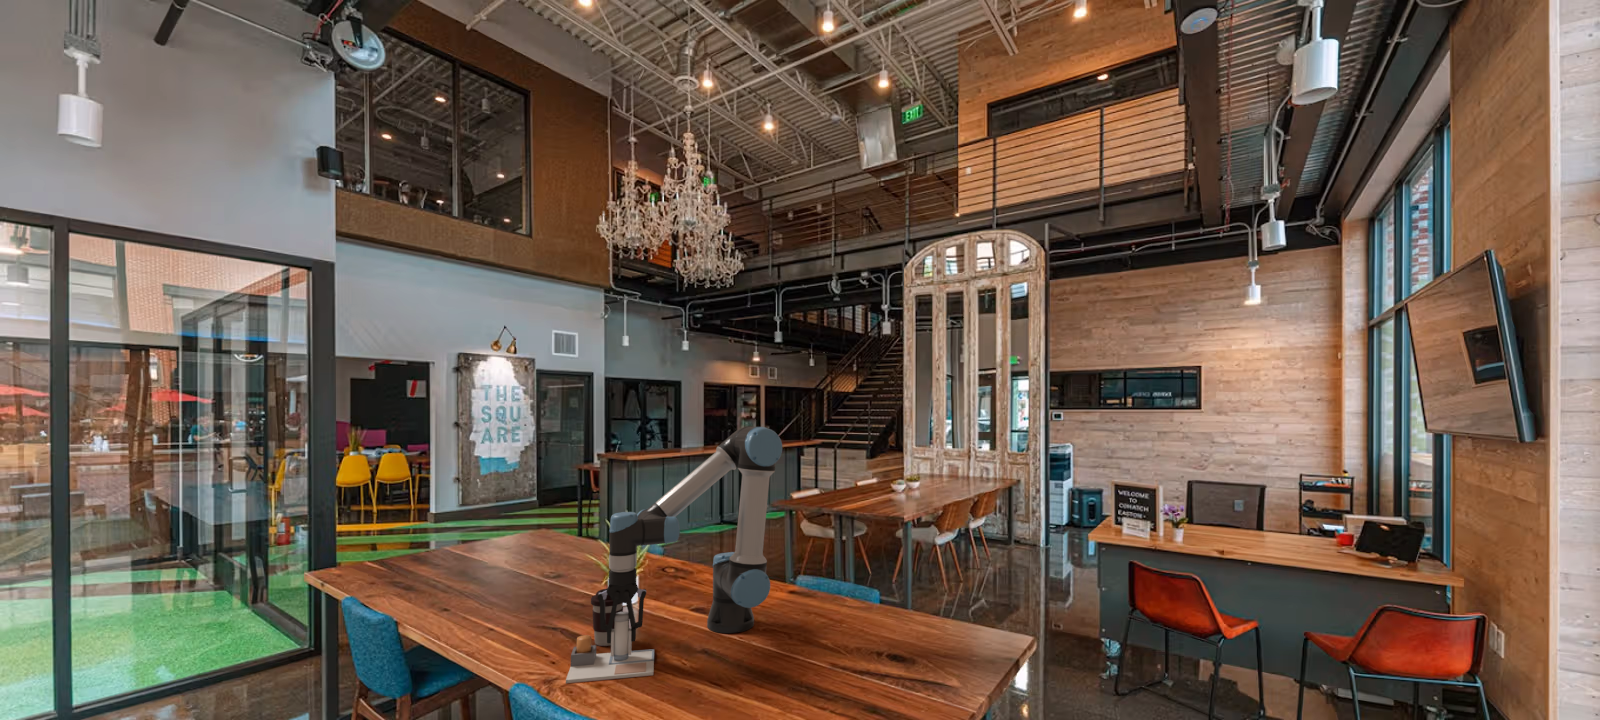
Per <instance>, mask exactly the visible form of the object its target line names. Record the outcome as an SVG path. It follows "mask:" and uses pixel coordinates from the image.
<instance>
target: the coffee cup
mask: <svg viewBox="0 0 1600 720" xmlns="http://www.w3.org/2000/svg"><path fill="white" fill-rule="evenodd" d="M606 590H607V588H603V589H600V590H598V591H596V594H595V595H593V596H591V598H590V604H591V606H592V626H593V627H592V628H593V631H594V632H593V636H594V645H596V646H600V647H607V646H608V647H609V646H611V643H607V631H605V630H601V629H600V602H599V600H598V597H597V596H598V593H599V592H604V591H606ZM606 596H607V597H606V599H605V619H606V624H607V625H608V623H609V619H610V614H611V610H612V605H613V600H612V599H611V598H610V596H609V595H608V594H607V595H606ZM623 605H624V603H619V604H617V608H616V612H615V613H618V612H624V607H623ZM612 629H614V621H613V626H612Z"/></svg>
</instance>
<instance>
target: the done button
mask: <svg viewBox="0 0 1600 720" xmlns="http://www.w3.org/2000/svg"><path fill="white" fill-rule="evenodd" d="M591 645H592V636H591V635H589V634H587V635H585V634H584V635H580V636H577V638H576V647H577V654H578V653H590V652H591Z"/></svg>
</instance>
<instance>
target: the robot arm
mask: <svg viewBox="0 0 1600 720" xmlns="http://www.w3.org/2000/svg"><path fill="white" fill-rule="evenodd" d="M782 453H783V442H782V440H781V438H780V436H779V435H778V434H777V433H776V431H775V430H773V429H771V428H767V427H765V426H751V425H748V426H743V427H740V428H739V429H737V430H736V431H734V432H733V433H731V435H729V436H728V437H727V438H726V439H725V440H723V441H722V442H721V443H720V444H719V445H717V447H716V449H715V452H714V453H713V454H712V455H710V456H709V457H708V458H707V459H705V460H704V461H703V462H702V463H701V464H700V465H699V466H697V467H696V468H694V470H692V471H691V472H690V473H689V474H687V476H686V477H684V478H682V480H681V481H679V482H678V483H677V484H676V485H675V486H673V487H672V488H671V489H669V490H668V491H667V492H666V493H665V494H663V496H661V497H660V498H659V499H658V500H657V501H655V502H654V503H653V504H651V506H649V507H648V508H645V509H644V508H643V509H641V510H640V511H639V512H634V511H622V512H621V511H620V512H615V513H613V514H612V515H611V517H610V521H609V523H610V524H609V530H608V531H609V554H608V568H609V570H608V586H607V588H606V589H607V590H606V591H604V592H599V593H598V596H597V597H598V600H599V602H600V629H601V630H605V631H607V643H611V645H610V653H611V657H612V656H614V629H612V626H613V621H614V617H615V612H616V608H617V604H619V603H623V604H626V607H627V612H628V614H629V625H630V627H629V636H628V655H631V651H632V643H633V642H635V641H636V639H637V629H638V628H642V627H643V624H644V623H643V621H644V605H645V604H644V601H645V598H646V596H647V589H645V588H643V589H642V588H639V586H638V584H637V568H636V567H637V564H638V563H637V561H638V560H637V558H638V557H637V556H638V555H637V554H638V553H637V552H638V549H637V548H638V547H641V546H643V547H644V546H652V545H667V544H670V543H676V542H678V540H679V538H680V531H681V530H680V521H679V519H678V518H677V516H678V515H679V514H680V513H682V512H683V511H684V510H685V509H686V508H688V506H690V505H691V504H692V503H693V502H695V501H696V500H697V499H698V498H699V497H700V496H702V494H704V493H705V492H706V491H708V490H709V489H710V488H711V487H712V486H713V485H714V484H715V483H717V482H718V481H719V480H721V478H723V477H724V476H725V475H727V474H728V472H730V471H731V470H732V471H734V470H739V472H740V473H741V475H742V476H741V485H740V495H739V508H738V517H737V518H738V519H737V525H736V526H737V529H736V537H735V538H736V539H735V551H730V552H729V551H728V552H721V553H717V554H715V555H714V556H713V558H712V559H713V561H712V562H713V563H712V603H711V606H710V609H709V613H708V616H707V619H706V620H707V623H706V624H707V625H706V628H707V629H709V630H710V631H712V632H715V633H719V634H720V633H721V634H736V633H742V632H745V631H748V630H750V629H752V628H753V627H754V625H755V618H754V617H755V616H754V613H753V610H752V608H756V607H758V606H760V605H761V604H762V603H763V602H764V601H765V600H766V599H767V598H768V596H769V594H770V591H771V581H770V578H769V576H768V575H767V566H768V565H767V563H768V560H767V558H766V557H765V556H764V553H763V551H764V541H765V531H766V522H767V521H766V520H767V507H768V499H769V496H768V495H769V487H770V486H769V485H770V477H771V476H772V475H773V474H774V473H775V472H776V463H777V462H778V461H779V460H780V458H781V456H782ZM636 593H637V597H638V598H639V602H638V617H637V619H638V620H637V621H636V617H635V612H634V607H633V601H632V600H633V598H634V597H635V596H636ZM607 594H608V595H609V596H610V598H611V599H612V600H613V605H612V610H611V614H610V619H609V623H608V625H607V624H606V619H605V599H606V597H607V596H606V595H607Z"/></svg>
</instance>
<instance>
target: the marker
mask: <svg viewBox="0 0 1600 720" xmlns="http://www.w3.org/2000/svg"><path fill="white" fill-rule="evenodd" d="M629 628H630V619H629V614H628V611H623V612H618V613H615V617H614V660H615V661H623V660H626V659H628V658H629V655H628V636H629Z"/></svg>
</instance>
